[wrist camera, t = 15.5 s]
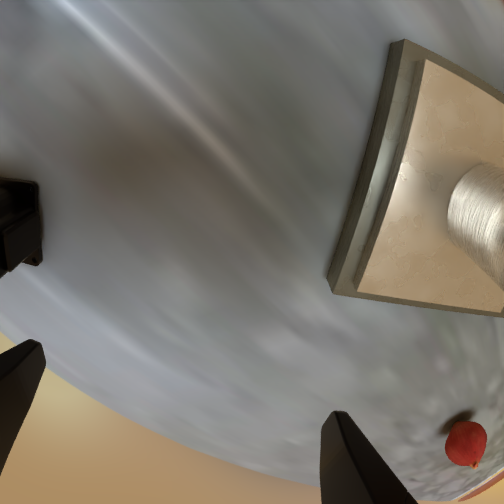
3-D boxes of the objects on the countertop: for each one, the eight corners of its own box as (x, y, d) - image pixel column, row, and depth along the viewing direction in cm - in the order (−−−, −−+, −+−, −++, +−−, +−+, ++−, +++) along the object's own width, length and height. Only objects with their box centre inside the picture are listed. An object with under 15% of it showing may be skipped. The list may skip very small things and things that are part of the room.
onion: (481, 405, 30) (505, 449, 23) (461, 430, 33) (480, 473, 26) (450, 412, 30) (473, 462, 23) (430, 438, 33) (448, 485, 25)
